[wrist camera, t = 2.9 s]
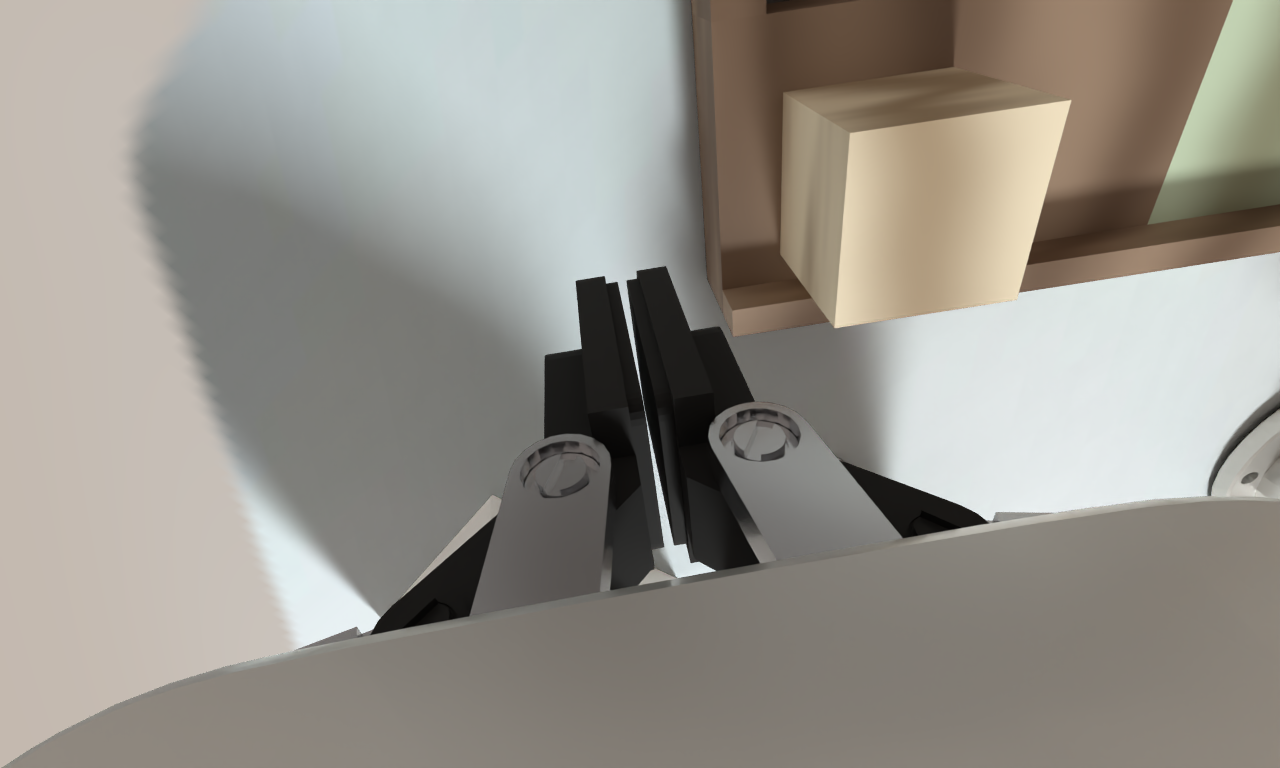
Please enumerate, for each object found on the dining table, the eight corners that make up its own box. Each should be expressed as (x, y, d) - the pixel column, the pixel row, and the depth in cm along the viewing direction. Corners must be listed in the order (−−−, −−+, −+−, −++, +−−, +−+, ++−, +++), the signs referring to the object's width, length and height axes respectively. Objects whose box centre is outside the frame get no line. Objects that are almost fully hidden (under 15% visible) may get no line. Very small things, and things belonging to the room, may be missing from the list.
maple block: (953, 66, 18) (1071, 99, 14) (926, 232, 20) (1016, 299, 16) (783, 92, 17) (850, 133, 13) (780, 254, 20) (834, 328, 16)
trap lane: (1550, -443, 15) (1916, -591, 11) (1250, 195, 24) (1388, 243, 20) (672, -323, 15) (714, -431, 11) (707, 279, 24) (736, 344, 20)
